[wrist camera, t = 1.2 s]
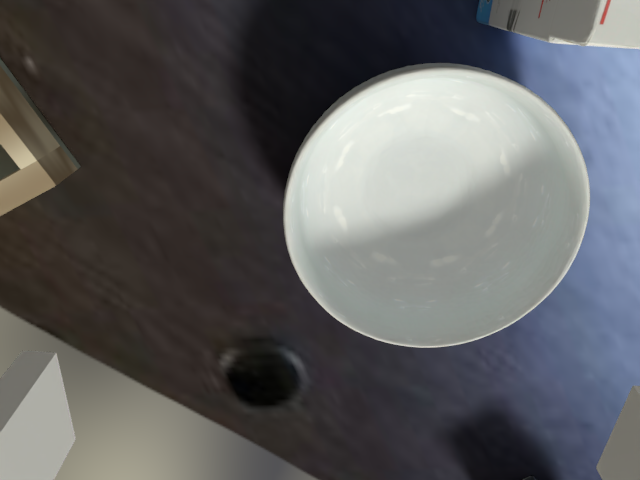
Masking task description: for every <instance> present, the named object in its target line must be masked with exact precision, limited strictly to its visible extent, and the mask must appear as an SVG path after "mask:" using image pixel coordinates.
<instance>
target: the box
mask: <svg viewBox="0 0 640 480" xmlns="http://www.w3.org/2000/svg"><path fill="white" fill-rule="evenodd" d="M523 480H537V479H536V478H535V477H534V476H529V477H527V478H525V479H523Z"/></svg>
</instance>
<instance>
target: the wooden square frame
mask: <svg viewBox="0 0 640 480" xmlns="http://www.w3.org/2000/svg"><path fill="white" fill-rule="evenodd" d="M80 167H81V166H80V165H79V163H78V162H77V161H76V159H75V158H74V157H73V155H72V154H71V153H70V151H69V150H68V149H67V147H66V146H65V145H64V143H63V142H62V141H61V139H60V138H59V137H58V135H57V134H56V132H55V131H54V130H53V128H52V127H51V126H50V124H49V123H48V122H47V120H46V119H45V118H44V116H43V115H42V114H41V112H40V111H39V110H38V108H37V107H36V106H35V104H34V103H33V101H32V100H31V99H30V97H29V96H28V95H27V93H26V92H25V91H24V89H23V88H22V87H21V85H20V84H19V83H18V81H17V80H16V79H15V77H14V76H13V75H12V73H11V72H10V71H9V69H8V68H7V66H6V65H5V64H4V62H3V61H2V60H1V58H0V216H1V215H2V214H4V213H6V212H8V211H10V210H12V209H14V208H15V207H17V206H19V205H21V204H23V203H25V202H27V201H28V200H30V199H32V198H34V197H36V196H38V195H40V194H41V193H43V192H45V191H47V190H49V189H51V188H53V187H54V186H56V185H58V184H59V183H60V182H61V181H63V180H64V179H65V178H67V177H68V176H69V175H71V174H72V173H73V172H75V171H76V170H77V169H78V168H80Z"/></svg>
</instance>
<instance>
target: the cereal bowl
mask: <svg viewBox="0 0 640 480" xmlns="http://www.w3.org/2000/svg"><path fill="white" fill-rule="evenodd" d="M589 206H590V188H589V179H588V174H587V169H586V165H585V161H584V158H583V156H582V153H581V150H580V148H579V146H578V144H577V142H576V140H575V138H574V136H573V135H572V133H571V131H570V130H569V128H568V127H567V125H566V124H565V122H564V121H563V120H562V119H561V118H560V116H559V115H558V114H557V113H556V111H555V110H554V109H553V108H552V107H550V106H549V105H548V104H547V103H546V102H545V101H544V100H543V99H542V98H541V97H539V96H538V95H536V94H534V93H533V92H532V91H531V90H529V89H527V88H526V87H525V86H522V85H520V84H518V83H517V82H516V81H512V80H510V79H508V78H506V77H503V76H501V75H499V74H496V73H493V72H491V71H488V70H483V69H481V68H477V67H472V66H468V65H462V64H451V63H426V64H417V65H413V66H405V67H403V68H398V69H395V70H389V71H388V72H386V73H383V74H380V75H378V76H376V77H373V78H371V79H369V80H368V81H365V82H363V83H362V84H360V85H358V86H356V87H354V88H353V89H352V90H351V91H349V92H347V93H346V94H345V95H343V96H342V97H340V98H339V99H338V100H337V101H336V102H335V103H334V104H332V105H331V107H330V108H329V109H327V110H326V111H325V112H324V113H323V115H322V116H321V117H320V118H319V119H318V121H317V122H316V123H315V124H314V125H313V126H312V128H311V130H310V131H309V133H308V134H307V135H306V137H305V139H304V141H303V143H302V144H301V146H300V148H299V150H298V152H297V153H296V156H295V158H294V161H293V163H292V165H291V169H290V172H289V176H288V179H287V184H286V189H285V196H284V203H283V224H284V234H285V240H286V244H287V248H288V252H289V255H290V258H291V261H292V263H293V265H294V268H295V270H296V272H297V274H298V276H299V277H300V279H301V281H302V283H303V284H304V285H305V287H306V288H307V290H308V291H309V292H310V294H311V295H312V296H313V297H314V298H315V299H316V301H317V302H318V303H319V304H320V305H321V306H322V307H323V308H324V309H325V310H326V311H327V312H328V313H330V314H331V315H332V316H333V317H335V318H336V319H337V320H338V321H340V322H341V323H343V324H344V325H346V326H348V327H349V328H351V329H353V330H355V331H357V332H359V333H361V334H364V335H366V336H368V337H371V338H373V339H376V340H379V341H383V342H386V343H391V344H395V345H402V346H408V347H443V346H451V345H457V344H462V343H466V342H470V341H473V340H477V339H480V338H483V337H485V336H488V335H490V334H492V333H495V332H497V331H499V330H501V329H503V328H505V327H507V326H509V325H511V324H512V323H514V322H515V321H517V320H519V319H520V318H522V317H523V316H524V315H526V314H527V313H528V312H530V311H531V310H532V309H534V308H535V307H536V306H537V305H538V304H539V303H541V302H542V301H543V300H544V299H545V298H546V297H547V296H548V295H549V294H550V293H551V292H552V291H553V290H554V288H555V287H556V286H557V285H558V284H559V282H560V281H561V280H562V278H563V277H564V276H565V274H566V273H567V271H568V269H569V268H570V266H571V264H572V263H573V261H574V259H575V257H576V255H577V252H578V250H579V248H580V245H581V242H582V240H583V237H584V233H585V229H586V225H587V221H588V215H589Z"/></svg>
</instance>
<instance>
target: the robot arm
mask: <svg viewBox="0 0 640 480" xmlns="http://www.w3.org/2000/svg"><path fill="white" fill-rule="evenodd" d="M75 439H76V438H75V433H74V429H73V425H72V420H71V416H70V411H69V407H68V402H67V398H66V394H65V390H64V385H63V380H62V376H61V372H60V367H59V362H58V358H57V353H51V352H34V351H22V352H21V353H20V354H19V356H18V357H17V358H16V359H15V360H14V362H13V363H12V364H11V366H10V367H9V368H8V369H7V371H6V372H5V373H4V374H3V376H2V377H1V378H0V480H54V479H55V477H56V475H57V473H58V471H59V469H60V467H61V466H62V464H63V462H64V460H65V458H66V456H67V454H68V452H69V451H70V449H71V447H72V445H73V443H74V441H75ZM596 468H597V470H598V472H599V474H600V476H601V478H602V480H640V386H633V387H632V389H631V391H630V393H629V395H628V398H627V400H626V402H625V404H624V407H623V409H622V411H621V413H620V415H619V418H618V420H617V422H616V424H615V427H614V429H613V431H612V433H611V436H610V438H609V440H608V442H607V444H606V447H605V449H604V451H603V453H602V456H601V458H600V460H599V462H598V464H597V467H596Z"/></svg>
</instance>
